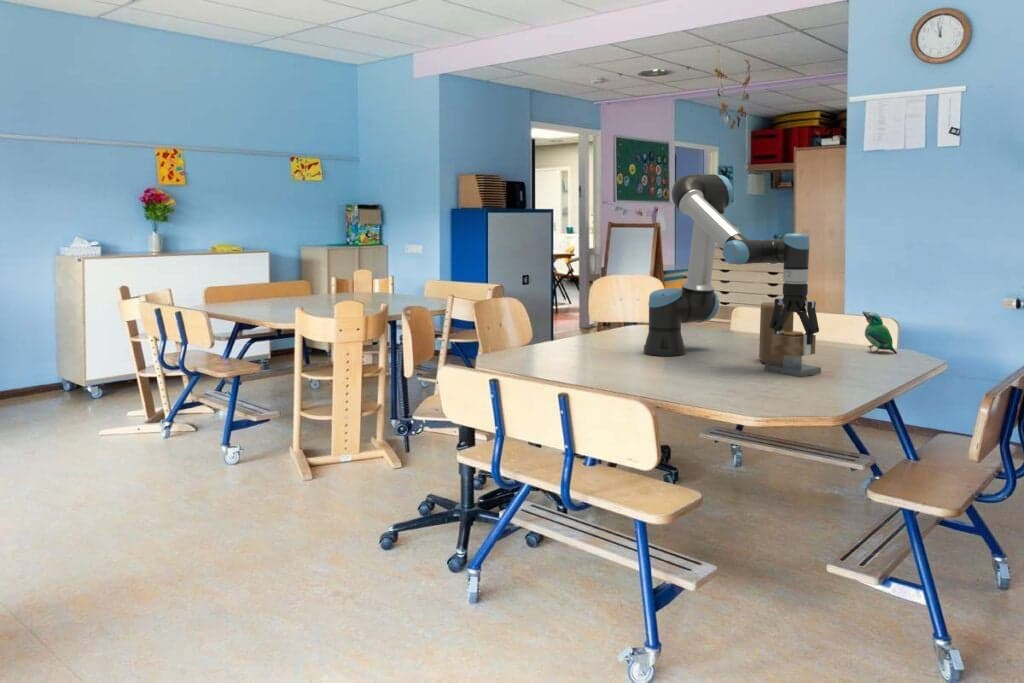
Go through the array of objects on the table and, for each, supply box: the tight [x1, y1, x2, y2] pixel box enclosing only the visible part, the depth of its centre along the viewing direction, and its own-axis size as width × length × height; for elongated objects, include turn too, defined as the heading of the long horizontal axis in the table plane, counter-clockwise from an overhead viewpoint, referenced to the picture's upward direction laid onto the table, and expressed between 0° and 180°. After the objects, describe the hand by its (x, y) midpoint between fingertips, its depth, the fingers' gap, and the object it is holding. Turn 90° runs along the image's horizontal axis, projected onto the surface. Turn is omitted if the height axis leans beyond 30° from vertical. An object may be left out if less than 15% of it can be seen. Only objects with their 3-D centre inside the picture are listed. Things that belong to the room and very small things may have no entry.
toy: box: [862, 310, 898, 354], centre depth 305 cm, size 12×8×15 cm, turn 73°
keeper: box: [763, 330, 822, 378], centre depth 271 cm, size 14×10×13 cm
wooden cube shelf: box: [771, 333, 817, 357], centre depth 270 cm, size 10×10×6 cm
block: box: [758, 301, 795, 364], centre depth 290 cm, size 10×10×20 cm
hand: (793, 352), depth 271 cm, fingers closed on wooden cube shelf, 9 cm apart
